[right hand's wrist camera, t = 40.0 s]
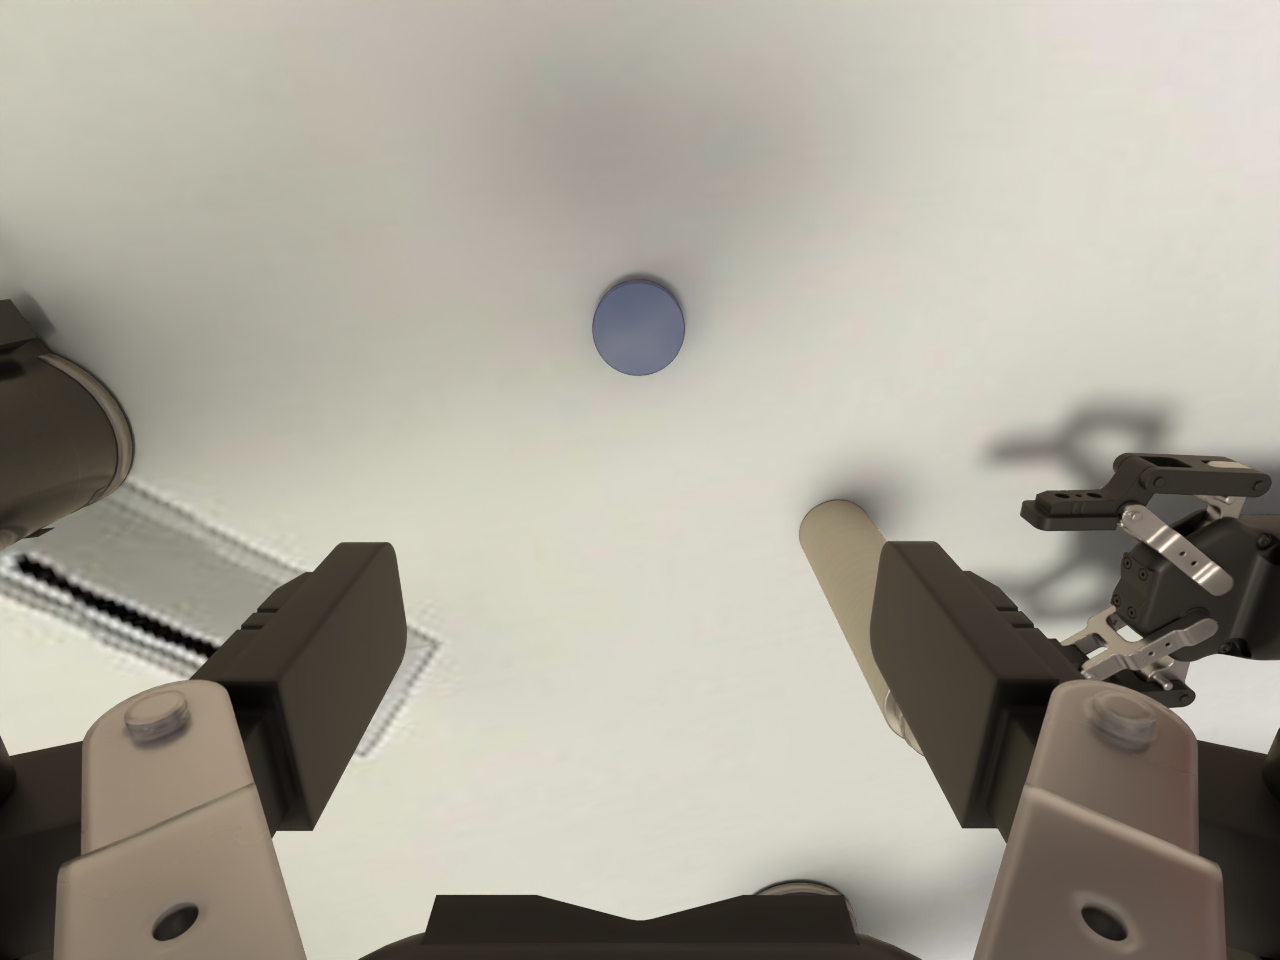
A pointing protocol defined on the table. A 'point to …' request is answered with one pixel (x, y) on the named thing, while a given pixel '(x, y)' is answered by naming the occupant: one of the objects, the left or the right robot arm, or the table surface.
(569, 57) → the table surface
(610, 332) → the lid
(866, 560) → the jar
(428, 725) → the table surface
